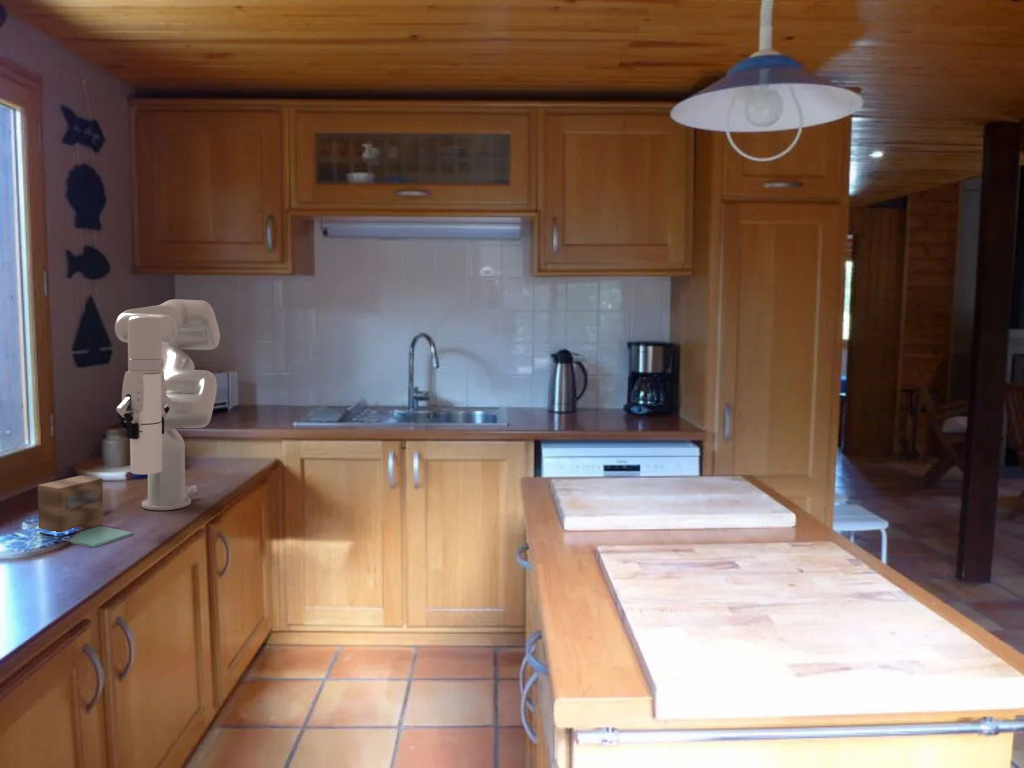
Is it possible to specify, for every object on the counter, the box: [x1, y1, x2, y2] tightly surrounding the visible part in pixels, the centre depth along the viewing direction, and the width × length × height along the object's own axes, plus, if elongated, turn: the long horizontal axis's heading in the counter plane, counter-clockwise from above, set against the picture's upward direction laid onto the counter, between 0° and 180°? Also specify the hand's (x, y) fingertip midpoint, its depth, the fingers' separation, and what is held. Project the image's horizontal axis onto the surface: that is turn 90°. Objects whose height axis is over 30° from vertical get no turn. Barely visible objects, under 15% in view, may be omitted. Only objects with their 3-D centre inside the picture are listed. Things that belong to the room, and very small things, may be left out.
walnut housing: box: [37, 474, 104, 532], centre depth 184 cm, size 12×8×12 cm, turn 159°
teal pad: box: [69, 525, 134, 549], centre depth 179 cm, size 11×11×1 cm
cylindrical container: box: [129, 373, 162, 475], centre depth 185 cm, size 7×7×25 cm
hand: (146, 435), depth 185 cm, fingers closed on cylindrical container, 7 cm apart
